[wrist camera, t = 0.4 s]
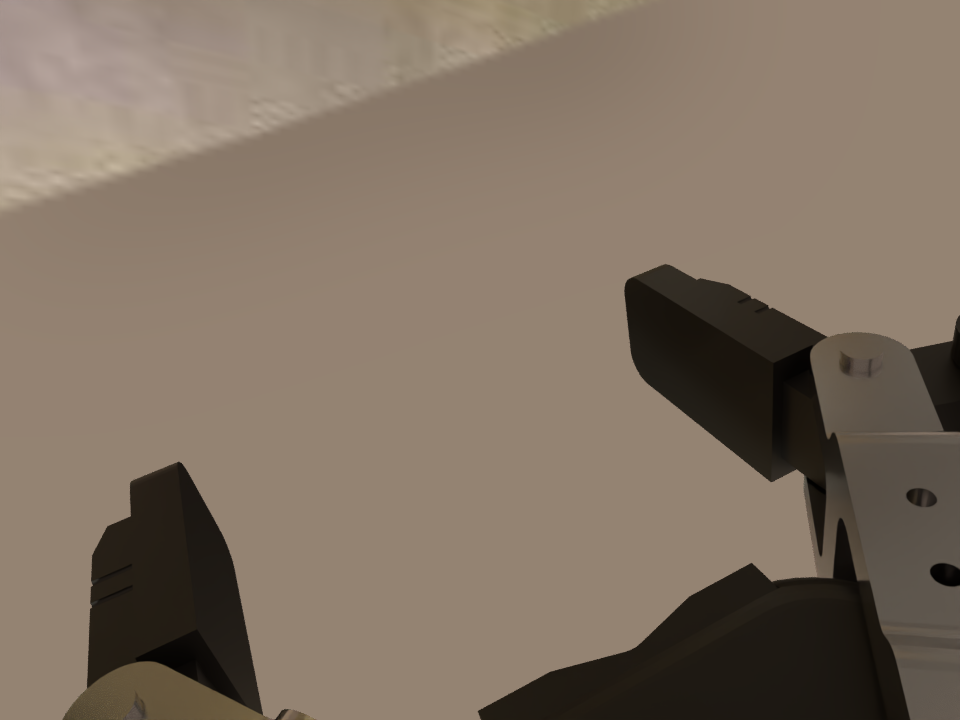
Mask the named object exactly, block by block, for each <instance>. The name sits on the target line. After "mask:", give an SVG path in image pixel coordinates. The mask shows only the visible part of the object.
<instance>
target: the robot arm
mask: <svg viewBox="0 0 960 720" xmlns="http://www.w3.org/2000/svg"><path fill="white" fill-rule="evenodd" d="M624 292H625V302H626V311H627V320H628V330H629V339H630V348H631V355H632V359H633V362H634V364H635V366H636V369H637V370H638V372H639V374H640V375H641V377H642V378H643V379H644V380H645V381H646V382H647V383H648V384H649V385H650V386H651V387H653V388H654V389H655V390H656V391H658V392H659V393H660V394H661V395H663V396H664V397H665V398H666V399H668V400H669V401H670V402H671V403H673V404H674V405H675V406H676V407H678V408H679V409H680V410H682V411H683V412H684V413H685V414H686V415H688V416H689V417H690V418H692V419H693V420H694V421H695V422H696V423H698V424H699V425H700V426H702V427H703V428H704V429H705V430H706V431H708V432H709V433H710V434H711V435H713V436H714V437H715V438H716V439H718V440H719V441H720V442H721V443H723V444H724V445H725V446H726V447H728V448H729V449H730V450H732V451H733V452H734V453H735V454H736V455H738V456H739V457H740V458H741V459H743V460H744V461H745V462H746V463H748V464H749V465H750V466H751V467H753V468H754V469H755V470H756V471H758V472H759V473H760V474H762V475H763V476H764V477H765V478H766V479H768V480H769V481H770V482H773V481H775V480H777V479H779V478H781V477H783V476H784V475H787V474H789V473H790V472H792V471H794V470H796V469H797V470H799V471H800V472H801V473H803V474H804V496H805V503H806V509H807V516H808V521H809V528H810V534H811V540H812V547H813V553H814V558H815V565H816V571H817V577H809V578H791V579H784V580H777V581H773V582H771V581H770V580H769V579H768V578H767V577H766V576H765V575H764V574H763V573H762V572H761V571H760V570H759V569H758V568H756V567H755V566H754V565H753V564H752V563H751V564H749V565H747V566H745V567H743V568H741V569H739V570H738V571H736V572H734V573H732V574H730V575H728V576H727V577H725V578H723V579H721V580H719V581H717V582H715V583H714V584H712V585H710V586H708V587H706V588H704V589H703V590H701V591H699V592H697V593H695V594H693V595H691V596H690V597H689V598H688V599H686V600H685V601H684V602H683V603H682V604H681V605H680V606H679V607H678V608H677V609H676V610H675V611H674V612H673V613H672V614H671V615H670V616H669V617H668V618H667V619H666V620H665V621H663V623H661V624H660V625H659V626H658V627H657V628H656V629H655V630H654V631H653V632H652V633H651V634H650V635H649V636H648V637H647V638H646V639H645V640H644V641H643V642H642V643H640V644H639V645H638V646H637V647H636V648H634V649H632V650H630V651H627V652H623V653H620V654H616V655H612V656H608V657H604V658H601V659H597V660H593V661H589V662H586V663H582V664H578V665H574V666H570V667H567V668H563V669H559V670H555V671H552V672H549V673H547V674H545V675H544V676H542V677H540V678H538V679H536V680H534V681H532V682H531V683H529V684H527V685H525V686H524V687H522V688H520V689H518V690H516V691H514V692H513V693H510V694H508V695H507V696H505V697H503V698H501V699H499V700H497V701H496V702H494V703H492V704H490V705H488V706H486V707H484V708H483V709H481V710H479V711H478V713H479V716H480V719H481V720H960V316H959V317H958V319H957V321H956V326H955V331H954V337H953V341H950V342H945V343H940V344H935V345H930V346H925V347H920V348H915V349H911V350H909V349H908V348H907V347H906V346H904V345H903V344H902V343H900V342H898V341H896V340H894V339H891V338H888V337H886V336H882V335H878V334H872V333H862V332H854V333H853V332H852V333H843V334H837V335H834V336H830V337H827V336H825V335H823V334H821V333H819V332H817V331H815V330H813V329H812V328H810V327H808V326H806V325H804V324H802V323H800V322H798V321H796V320H795V319H793V318H790V317H789V316H787V315H785V314H783V313H781V312H779V311H777V310H776V309H774V308H771V309H769V307H768V305H766V304H765V303H763V302H761V301H758V300H757V299H751V297H750V296H749V295H747V294H746V293H744V292H742V291H740V290H738V289H736V288H734V287H732V286H731V285H729V284H724V283H719V282H715V281H710V280H705V279H701V278H700V279H698V280H696V279H694V278H692V277H691V276H689V275H687V274H685V273H683V272H681V271H680V270H678V269H676V268H674V267H673V266H670V265H667V264H665V265H662V266H659V267H657V268H654V269H652V270H649V271H647V272H644V273H642V274H639V275H637V276H635V277H632V278H630V279H628V280H627V282H626V284H625V290H624ZM130 504H131V517H129V518H126V519H124V520H121V521H119V522H117V523H114V524H112V525H110V526H108V527H107V528H106V530H105V532H104V534H103V536H102V538H101V540H100V542H99V544H98V546H97V547H96V549H95V551H94V553H93V555H92V577H91V581H92V584H93V586H92V587H91V601H90V603H91V605H92V608H91V609H90V626H89V652H88V654H89V655H88V678H87V689H86V690H85V691H84V692H83V693H82V694H81V695H80V696H79V697H78V699H77V700H76V701H75V702H74V703H73V704H72V706H71V707H70V708H69V710H68V711H67V713H66V714H65V716H64V718H63V720H274V719H270V718H268V717H265V716H263V712H262V707H261V702H260V697H259V692H258V687H257V682H256V676H255V671H254V666H253V661H252V656H251V651H250V645H249V640H248V635H247V630H246V625H245V620H244V615H243V610H242V605H241V599H240V595H239V589H238V584H237V579H236V574H235V569H234V565H233V561H232V558H231V555H230V552H229V549H228V547H227V544H226V542H225V539H224V537H223V535H222V533H221V531H220V530H219V528H218V526H217V524H216V522H215V520H214V518H213V517H212V515H211V513H210V511H209V509H208V508H207V506H206V504H205V502H204V500H203V499H202V497H201V495H200V493H199V491H198V490H197V488H196V486H195V484H194V482H193V481H192V479H191V477H190V475H189V473H188V472H187V470H186V468H185V467H184V466H183V464H182V463H180V462H177V463H174V464H172V465H169V466H167V467H165V468H163V469H160V470H157V471H155V472H152V473H150V474H147V475H145V476H143V477H140V478H138V479H135V480H133V481H131V483H130ZM275 720H316V719H314V718H312V717H310V716H308V715H305V714H303V713H301V712H298V711H295V710H291V709H284V710H282V711H281V713H280V714H279V716H278V717H277V718H276V719H275Z"/></svg>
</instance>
